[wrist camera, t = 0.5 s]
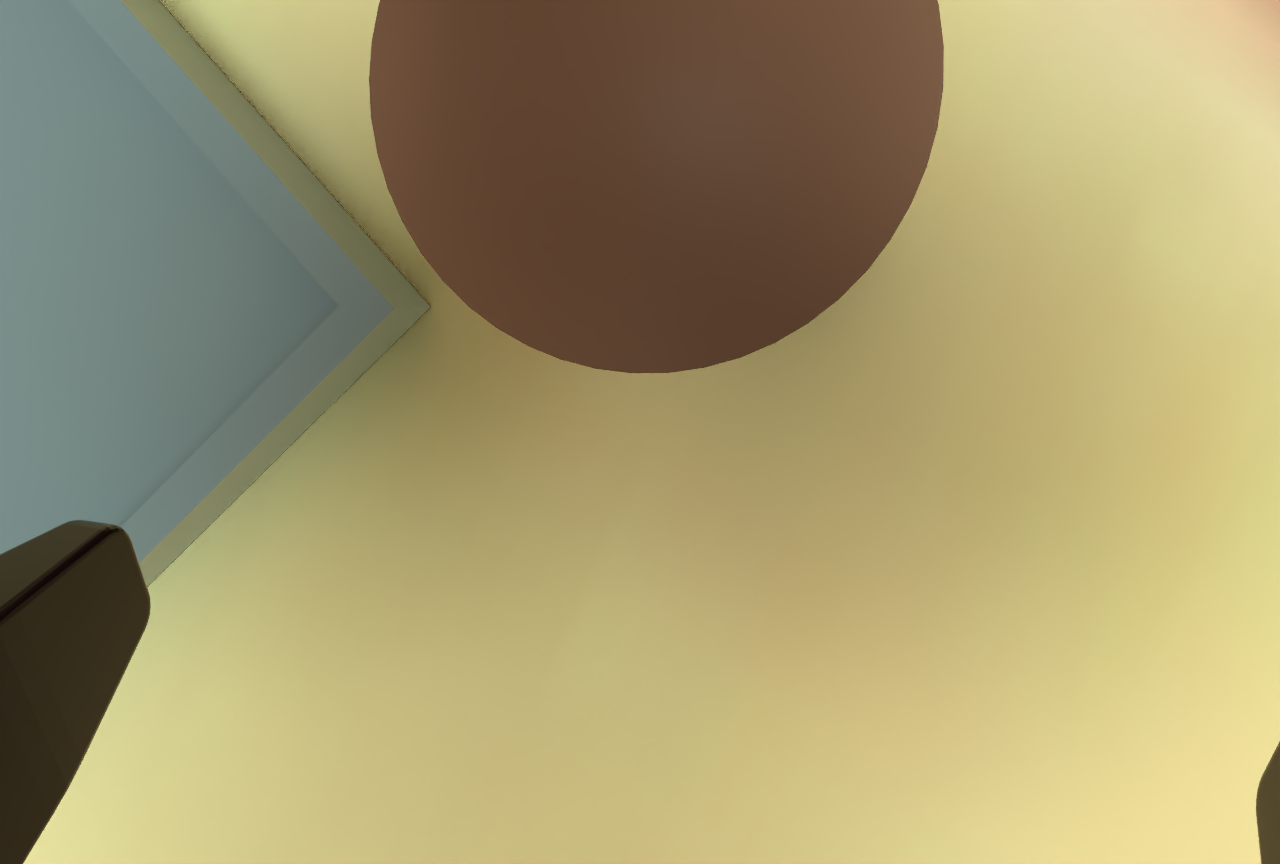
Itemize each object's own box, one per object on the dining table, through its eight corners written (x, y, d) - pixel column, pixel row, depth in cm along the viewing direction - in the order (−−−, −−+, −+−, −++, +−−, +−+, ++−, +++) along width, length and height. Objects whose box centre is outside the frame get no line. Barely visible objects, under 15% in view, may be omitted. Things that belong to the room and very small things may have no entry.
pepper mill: (747, 375, 23) (626, 486, 10) (583, 191, 23) (262, 77, 10) (942, 202, 22) (1075, 89, 9) (768, 10, 22) (662, -365, 9)
